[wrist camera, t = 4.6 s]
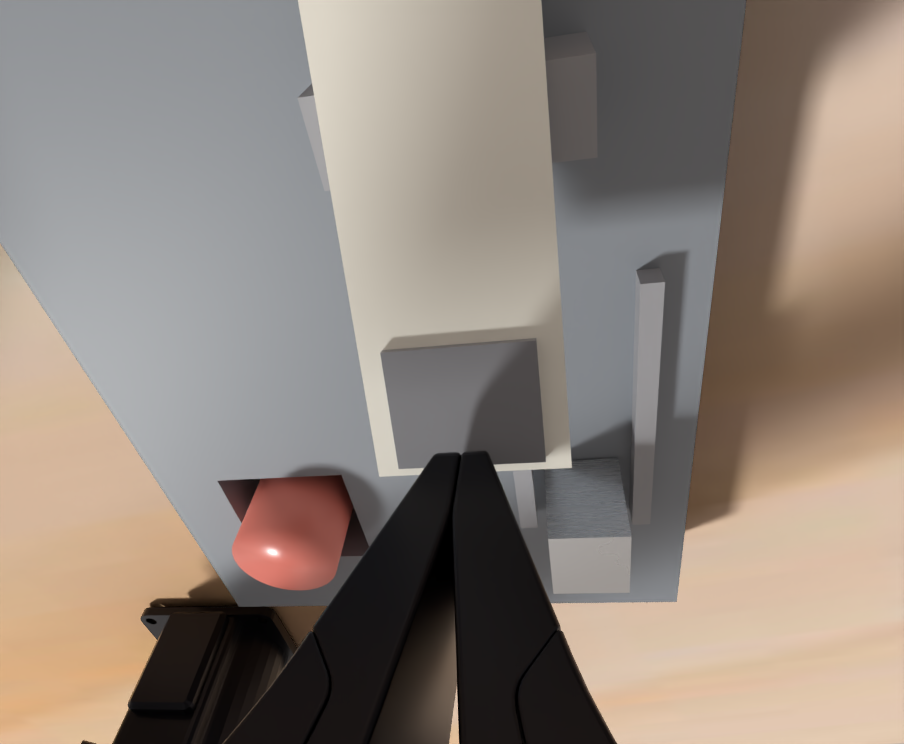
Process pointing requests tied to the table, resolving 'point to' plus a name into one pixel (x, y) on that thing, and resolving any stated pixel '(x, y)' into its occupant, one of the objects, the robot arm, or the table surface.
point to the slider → (588, 528)
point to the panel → (320, 262)
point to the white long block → (445, 224)
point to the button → (294, 531)
